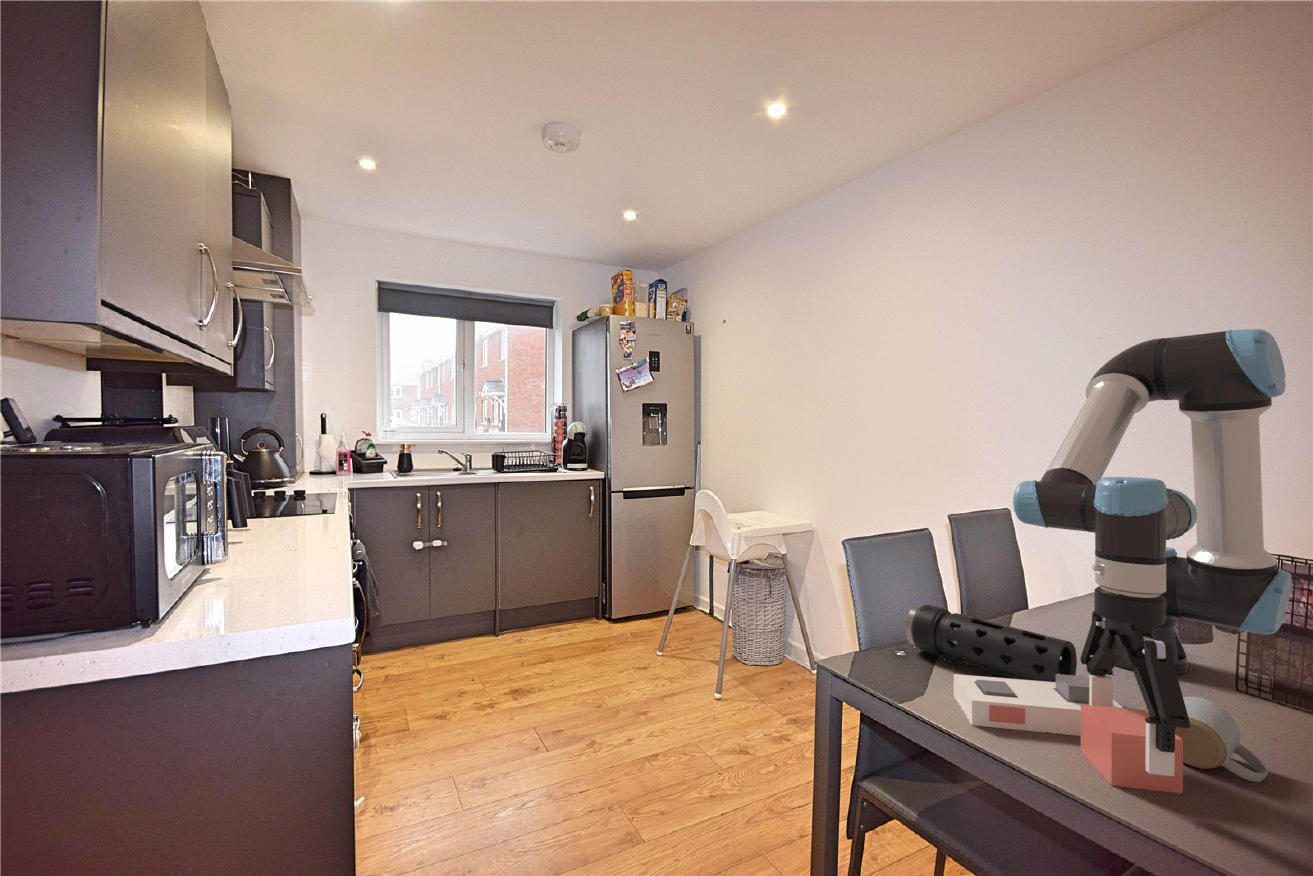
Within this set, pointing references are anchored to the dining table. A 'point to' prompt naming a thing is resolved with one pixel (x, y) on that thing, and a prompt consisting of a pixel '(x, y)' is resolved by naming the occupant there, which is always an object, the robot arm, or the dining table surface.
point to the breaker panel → (1019, 706)
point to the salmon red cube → (1124, 749)
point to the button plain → (1073, 688)
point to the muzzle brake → (989, 645)
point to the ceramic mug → (1215, 740)
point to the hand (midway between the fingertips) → (1127, 745)
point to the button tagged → (995, 688)
